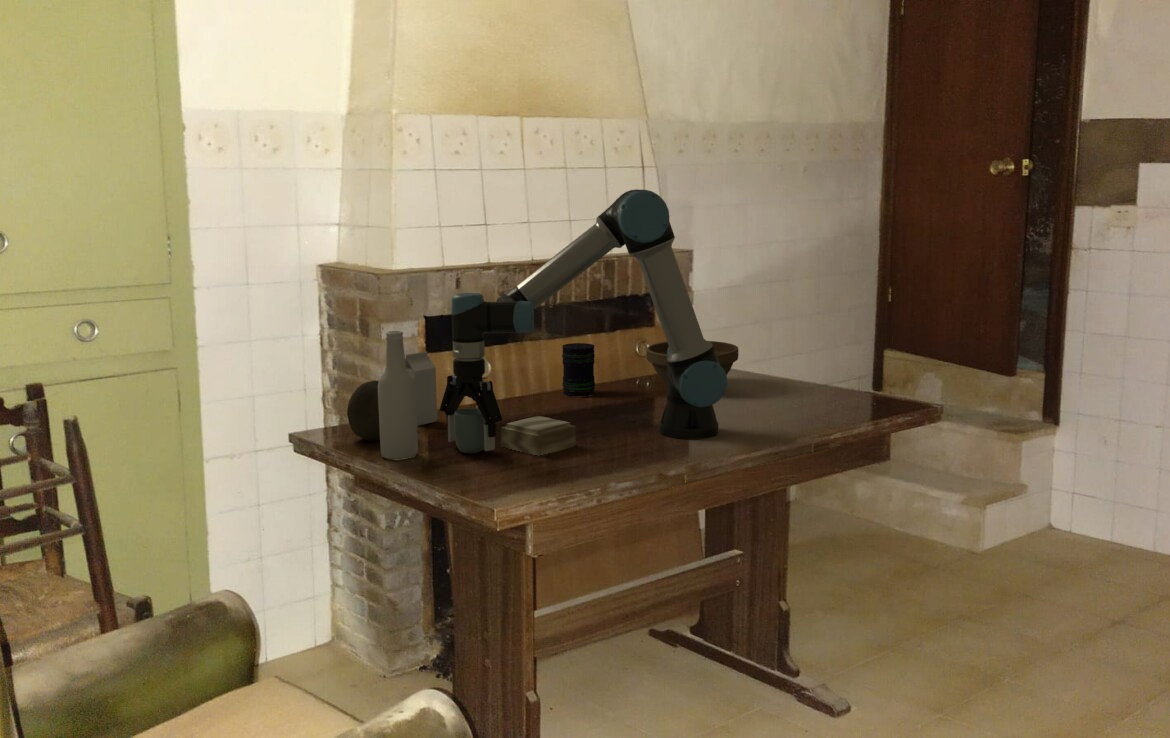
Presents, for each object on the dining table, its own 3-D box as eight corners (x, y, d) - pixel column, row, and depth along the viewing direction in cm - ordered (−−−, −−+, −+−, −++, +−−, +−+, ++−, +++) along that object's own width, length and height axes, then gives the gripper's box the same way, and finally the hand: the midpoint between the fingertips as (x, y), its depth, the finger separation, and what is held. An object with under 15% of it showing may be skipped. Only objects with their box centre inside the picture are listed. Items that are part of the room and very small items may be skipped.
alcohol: (411, 461, 247) (406, 335, 241) (375, 460, 248) (369, 334, 243) (422, 451, 255) (418, 329, 250) (388, 450, 257) (383, 328, 251)
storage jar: (594, 397, 315) (594, 348, 312) (562, 397, 315) (561, 348, 312) (595, 390, 325) (594, 342, 322) (563, 390, 325) (562, 343, 322)
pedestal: (575, 446, 260) (575, 422, 258) (538, 456, 250) (538, 432, 249) (538, 437, 268) (538, 414, 267) (501, 447, 259) (500, 423, 258)
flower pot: (670, 401, 309) (670, 357, 306) (631, 383, 335) (631, 343, 333) (755, 393, 319) (756, 350, 317) (710, 377, 345) (711, 337, 343)
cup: (482, 456, 251) (481, 415, 249) (451, 455, 252) (449, 414, 250) (491, 448, 258) (490, 408, 256) (461, 446, 260) (459, 407, 258)
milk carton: (437, 421, 286) (435, 352, 282) (416, 426, 281) (414, 356, 277) (421, 417, 291) (418, 350, 287) (400, 422, 286) (397, 353, 282)
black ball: (371, 449, 258) (369, 389, 255) (337, 440, 267) (334, 382, 264) (416, 438, 268) (414, 381, 265) (382, 430, 277) (380, 374, 274)
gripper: (423, 354, 256) (426, 439, 260) (492, 366, 240) (494, 457, 244) (447, 350, 262) (450, 434, 266) (516, 362, 245) (517, 450, 249)
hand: (471, 445), depth 255 cm, fingers open, 12 cm apart
